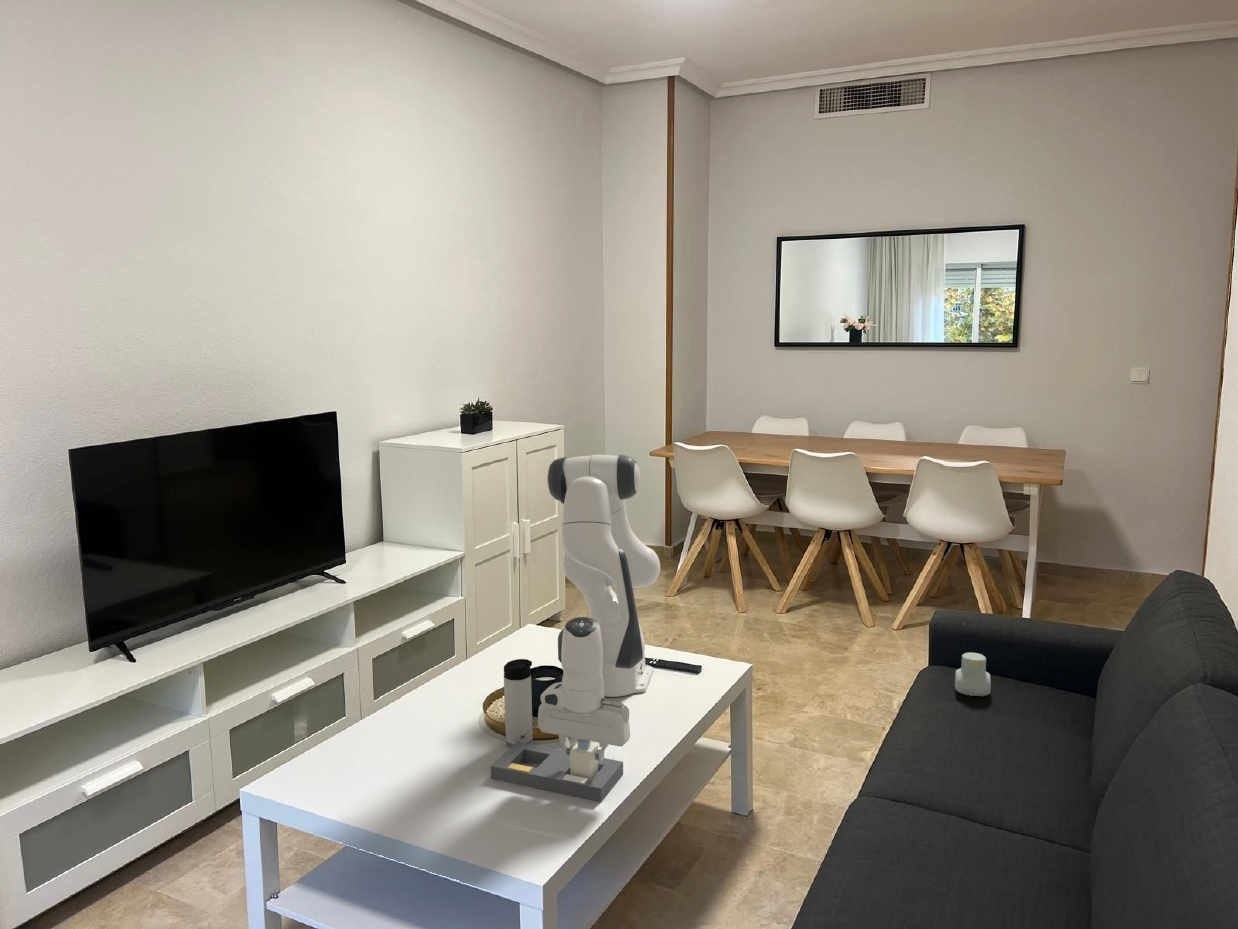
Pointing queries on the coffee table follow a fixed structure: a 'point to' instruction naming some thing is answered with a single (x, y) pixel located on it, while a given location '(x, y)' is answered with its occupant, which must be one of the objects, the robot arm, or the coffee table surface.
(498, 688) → the coffee table surface
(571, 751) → the plug
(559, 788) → the panel
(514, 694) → the travel mug
